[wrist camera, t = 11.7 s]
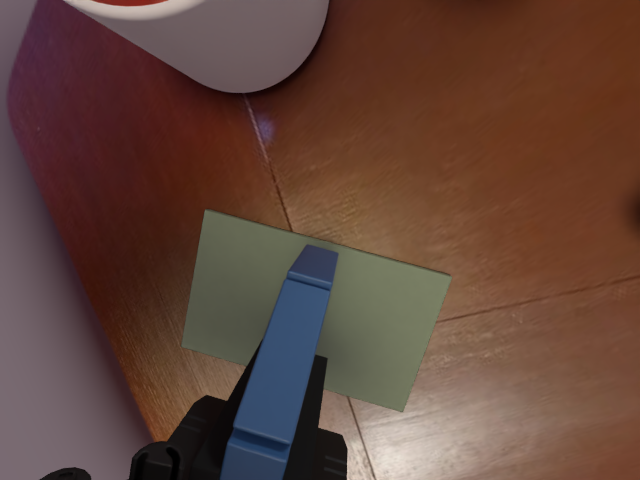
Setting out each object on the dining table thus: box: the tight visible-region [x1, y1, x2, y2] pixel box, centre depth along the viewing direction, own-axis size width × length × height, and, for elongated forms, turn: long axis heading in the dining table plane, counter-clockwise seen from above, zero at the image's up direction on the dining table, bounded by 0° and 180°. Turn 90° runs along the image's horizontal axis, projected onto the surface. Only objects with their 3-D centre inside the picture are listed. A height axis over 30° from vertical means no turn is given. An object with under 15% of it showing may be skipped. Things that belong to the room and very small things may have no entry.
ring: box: [219, 244, 339, 480], centre depth 14 cm, size 12×2×12 cm, turn 166°
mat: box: [181, 209, 452, 412], centre depth 21 cm, size 16×10×1 cm, turn 76°
